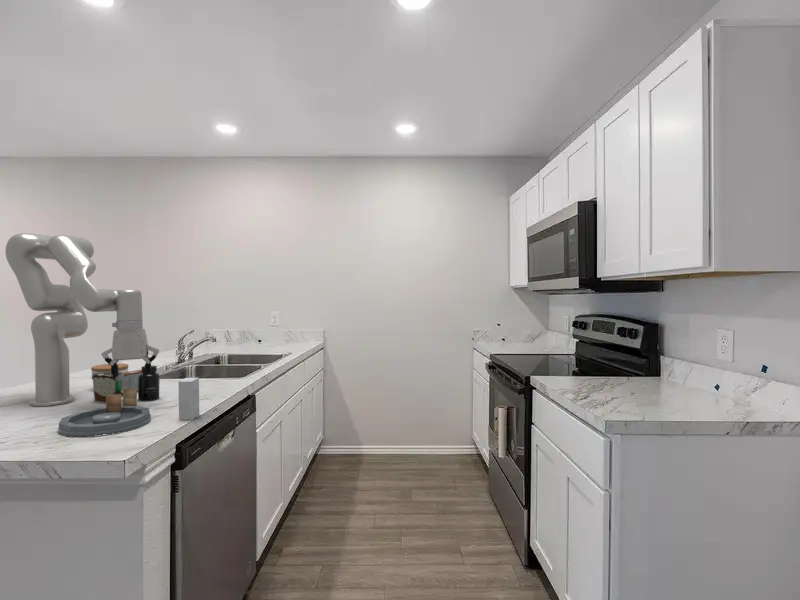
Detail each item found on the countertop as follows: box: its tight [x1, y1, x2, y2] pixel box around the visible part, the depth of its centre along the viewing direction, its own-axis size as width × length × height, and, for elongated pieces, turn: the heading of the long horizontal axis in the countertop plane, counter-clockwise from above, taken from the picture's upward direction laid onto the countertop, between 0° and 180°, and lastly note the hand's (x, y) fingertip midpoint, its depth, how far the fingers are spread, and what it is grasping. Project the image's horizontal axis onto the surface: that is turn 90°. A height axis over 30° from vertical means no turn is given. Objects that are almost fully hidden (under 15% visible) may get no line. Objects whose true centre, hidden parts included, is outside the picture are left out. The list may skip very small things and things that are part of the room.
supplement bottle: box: [137, 364, 161, 402], centre depth 165 cm, size 7×7×12 cm
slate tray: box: [57, 405, 152, 438], centre depth 133 cm, size 23×23×3 cm
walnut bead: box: [105, 394, 122, 413], centre depth 139 cm, size 4×4×6 cm
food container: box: [91, 372, 124, 403], centre depth 162 cm, size 12×6×10 cm, turn 71°
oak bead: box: [122, 388, 138, 406], centre depth 154 cm, size 4×4×6 cm
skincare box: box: [178, 377, 200, 421], centre depth 141 cm, size 6×4×12 cm
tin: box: [121, 369, 142, 396], centre depth 175 cm, size 15×3×8 cm, turn 159°
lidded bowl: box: [90, 362, 129, 374], centre depth 183 cm, size 13×13×11 cm
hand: (131, 375), depth 154 cm, fingers open, 9 cm apart
